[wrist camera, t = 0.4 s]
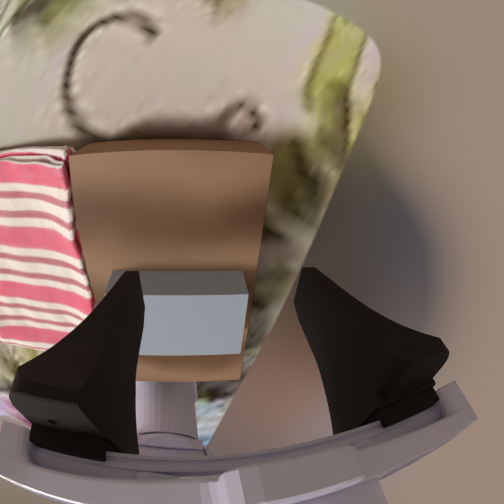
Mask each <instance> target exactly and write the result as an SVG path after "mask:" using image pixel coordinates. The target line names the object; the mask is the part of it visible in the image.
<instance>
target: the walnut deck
mask: <svg viewBox="0 0 504 504" xmlns="http://www.w3.org/2000/svg"><path fill="white" fill-rule="evenodd" d="M272 162H273V154H272V153H271V152H270V151H269V150H268V149H266V148H265V147H264V146H263V145H262V144H261V143H259V142H248V141H233V140H212V139H139V140H120V141H105V142H94V143H90V144H88V145H87V146H85V147H83V148H81V149H80V150H78V151H76V152H74V153H73V154H71V155H69V165H70V176H71V185H72V193H73V201H74V207H75V214H76V220H77V225H78V231H79V236H80V241H81V246H82V251H83V255H84V259H85V264H86V268H87V272H88V276H89V279H90V283H91V287H92V290H93V294H94V297H95V301H96V304H97V305H98V304H99V303H100V302H101V300H102V299H103V298H104V297H105V295H104V294H105V291H106V288H107V285H108V282H109V279H110V277H111V274H112V271H233V270H242V271H243V274H244V278H245V282H246V286H247V290H248V294H249V295H248V303H247V310H246V317H245V324H244V331H243V339H242V346H241V353H240V354H221V355H182V356H167V355H139V357H138V364H137V371H136V381H149V382H203V381H225V380H240V376H241V370H242V364H243V357H244V351H245V344H246V338H247V331H248V325H249V318H250V312H251V305H252V299H253V292H254V285H255V279H256V272H257V265H258V259H259V252H260V245H261V238H262V231H263V225H264V218H265V211H266V204H267V197H268V190H269V183H270V176H271V169H272Z"/></svg>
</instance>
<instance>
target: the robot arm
mask: <svg viewBox="0 0 504 504" xmlns="http://www.w3.org/2000/svg"><path fill="white" fill-rule="evenodd" d="M294 304H295V308H296V312H297V315H298V319H299V322H300V324H301V326H302V329H303V331H304V334H305V336H306V338H307V340H308V343H309V345H310V347H311V350H312V352H313V354H314V357H315V359H316V362H317V364H318V368H319V371H320V374H321V378H322V381H323V385H324V389H325V393H326V397H327V402H328V407H329V411H330V416H331V423H332V429H333V435H332V436H328V437H324V438H321V439H316V440H312V441H308V442H304V443H299V444H294V445H289V446H284V447H279V448H273V449H267V450H260V451H252V452H245V453H235V454H224V455H214V453H213V452H212V451H210V449H209V448H208V447H203V441H202V440H198V432H197V422H196V411H195V402H197V401H198V394H197V382H149V381H136V371H137V364H138V357H139V351H140V345H141V340H142V334H143V328H144V316H145V303H144V298H143V293H142V287H141V281H140V275H139V271H125V272H124V273H123V274H122V276H121V277H120V278H119V279H118V281H117V282H116V283H115V284H114V286H113V287H112V288H111V289H110V291H109V292H108V293H107V294H106V296H105V297H104V298H103V299H102V300H101V302H100V303H99V304H98V305H97V306H96V307H95V308H94V309H93V311H92V312H91V313H90V314H89V315H88V316H87V317H86V318H85V319H84V320H83V321H82V322H81V323H80V324H79V325H78V326H77V327H76V328H75V329H74V330H72V331H71V332H70V333H69V334H68V335H66V336H65V337H64V338H63V339H61V340H60V341H59V342H58V343H56V344H55V345H54V346H52V347H51V348H49V349H48V350H46V351H45V352H43V353H42V354H40V355H39V356H37V357H35V358H34V359H32V360H30V361H28V362H26V363H25V364H23V365H21V366H19V367H18V369H17V372H16V374H15V377H14V380H13V384H12V387H11V390H10V393H9V398H10V400H11V402H12V404H13V405H14V407H15V408H16V409H17V410H18V411H19V412H20V413H21V414H22V415H23V416H24V417H25V418H27V419H28V420H29V421H30V422H31V423H32V427H31V430H30V429H28V428H26V427H24V426H21V425H18V424H15V423H12V422H9V421H6V420H3V422H2V427H1V431H0V477H2V478H4V479H6V480H7V481H9V482H11V483H13V484H15V485H17V486H20V487H22V488H24V489H26V490H28V491H31V492H33V493H36V494H38V495H41V496H44V497H47V498H50V499H53V500H56V501H59V502H62V503H65V504H388V503H387V501H386V498H385V495H384V493H383V490H382V488H381V485H380V483H379V480H381V479H383V478H385V477H387V476H389V475H391V474H393V473H395V472H397V471H399V470H401V469H403V468H405V467H407V466H409V465H411V464H412V463H414V462H416V461H418V460H419V459H421V458H423V457H425V456H426V455H428V454H430V453H431V452H433V451H434V450H436V449H438V448H439V447H440V446H442V445H444V444H445V443H447V442H448V441H450V440H451V439H452V438H454V437H455V436H457V435H458V434H459V433H461V432H462V431H463V430H464V429H466V428H467V427H468V426H469V425H471V424H472V423H473V422H474V421H476V420H477V416H476V414H475V413H474V411H473V409H472V407H471V406H470V404H469V402H468V400H467V399H466V397H465V395H464V394H463V392H462V391H461V389H460V387H459V386H458V384H457V383H456V381H452V382H451V383H449V384H447V385H445V386H443V387H441V388H440V389H438V390H437V391H436V392H435V390H434V388H433V386H435V381H434V380H433V377H434V376H435V374H436V373H437V372H438V371H439V370H440V368H441V367H442V366H443V365H444V363H445V362H446V361H447V359H448V356H449V350H448V349H447V348H446V346H445V345H444V343H443V342H442V340H441V339H440V338H438V337H434V336H431V335H427V334H424V333H421V332H418V331H415V330H413V329H409V328H407V327H405V326H403V325H400V324H398V323H396V322H394V321H392V320H390V319H388V318H386V317H384V316H382V315H380V314H379V313H377V312H375V311H373V310H372V309H370V308H369V307H367V306H365V305H364V304H363V303H361V302H360V301H358V300H357V299H355V298H354V297H353V296H351V295H350V294H348V293H347V292H346V291H345V290H343V289H342V288H341V287H339V286H338V285H337V284H336V283H334V282H333V281H332V280H330V279H329V278H328V277H327V276H325V275H324V274H323V273H322V272H320V271H319V270H317V269H316V268H314V267H306V268H302V270H301V274H300V278H299V282H298V286H297V290H296V294H295V298H294Z"/></svg>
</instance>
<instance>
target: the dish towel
mask: <svg viewBox="0 0 504 504" xmlns="http://www.w3.org/2000/svg"><path fill="white" fill-rule="evenodd" d="M76 151H77V150H75V149H74V148H73V147H68V146H66V145H65V146H46V147H40V146H31V147H20V148H14V149H9V150H2V151H0V341H1V342H3V343H7V344H14V345H19V346H22V347H27V348H32V349H36V350H43V351H46V350H48V349H49V348H51V347H52V346H54V345H55V344H56V343H58V342H59V341H60V340H61V339H63V338H64V337H65V336H66V335H68V334H69V333H70V332H71V331H72V330H74V329H75V328H76V327H77V326H78V325H79V324H80V323H81V322H82V321H83V320H84V319H85V318H86V317H87V316H88V315H89V314H90V313H91V312H92V311H93V309H94V308H95V307H96V306H97V304H96V301H95V297H94V294H93V290H92V287H91V283H90V279H89V276H88V272H87V268H86V264H85V259H84V255H83V251H82V246H81V241H80V236H79V231H78V225H77V220H76V214H75V207H74V201H73V193H72V185H71V176H70V165H69V155H71V154H73V153H74V152H76Z"/></svg>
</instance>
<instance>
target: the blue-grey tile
mask: <svg viewBox="0 0 504 504" xmlns="http://www.w3.org/2000/svg"><path fill="white" fill-rule="evenodd" d="M124 272H125V271H112V274H111V277H110V279H109V282H108V285H107V288H106V291H105V294H104V295H105V296H106V294H107V293H108V292H109V291H110V289H111V288H112V287H113V286H114V284H115V283H116V282H117V281H118V279H119V278H120V277H121V276H122V274H123V273H124ZM139 275H140V281H141V287H142V293H143V298H144V303H145V316H144V328H143V334H142V340H141V345H140V351H139V355H167V356H182V355H221V354H240V353H241V346H242V339H243V331H244V324H245V317H246V310H247V303H248V295H249V294H248V290H247V286H246V282H245V278H244V274H243V271H242V270H233V271H139Z"/></svg>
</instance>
